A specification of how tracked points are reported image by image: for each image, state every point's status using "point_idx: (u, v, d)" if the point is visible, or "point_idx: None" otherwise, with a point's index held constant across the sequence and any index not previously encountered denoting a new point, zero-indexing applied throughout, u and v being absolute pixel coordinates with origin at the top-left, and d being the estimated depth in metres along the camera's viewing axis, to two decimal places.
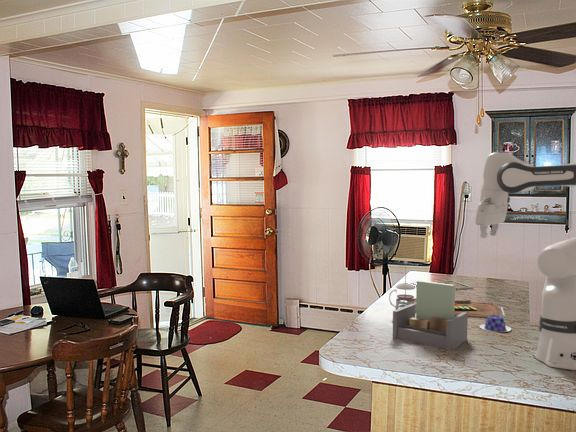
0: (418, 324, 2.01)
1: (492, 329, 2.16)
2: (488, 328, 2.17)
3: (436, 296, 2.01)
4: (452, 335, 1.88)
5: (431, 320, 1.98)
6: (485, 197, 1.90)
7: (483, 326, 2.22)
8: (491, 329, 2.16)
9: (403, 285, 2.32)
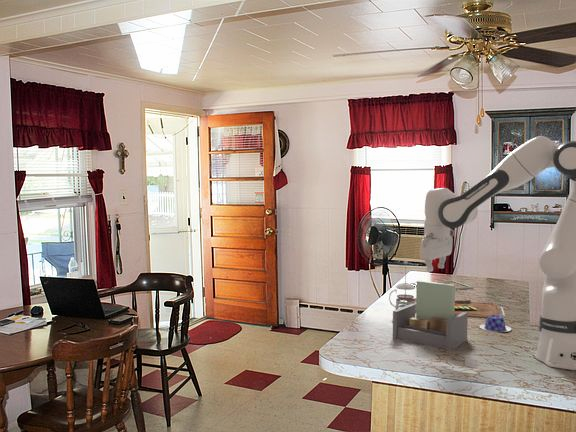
0: (418, 324, 2.01)
1: (492, 329, 2.15)
2: (488, 328, 2.17)
3: (436, 296, 2.01)
4: (452, 335, 1.88)
5: (431, 320, 1.98)
6: (428, 232, 1.98)
7: (483, 326, 2.21)
8: (491, 329, 2.16)
9: (403, 285, 2.32)
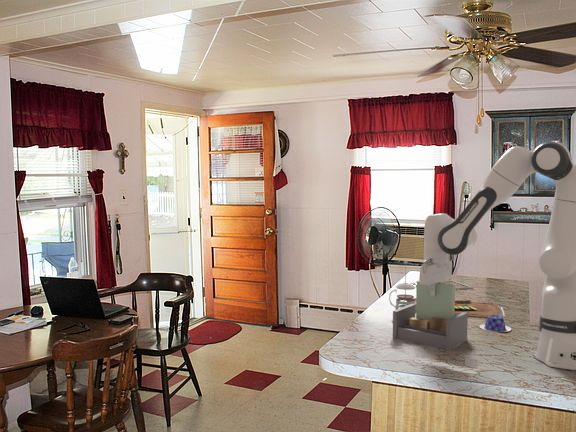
0: (418, 324, 2.01)
1: (493, 329, 2.15)
2: (489, 328, 2.17)
3: (436, 296, 2.01)
4: (452, 335, 1.88)
5: (431, 320, 1.98)
6: (427, 258, 1.99)
7: (483, 326, 2.21)
8: (492, 329, 2.16)
9: (403, 285, 2.32)
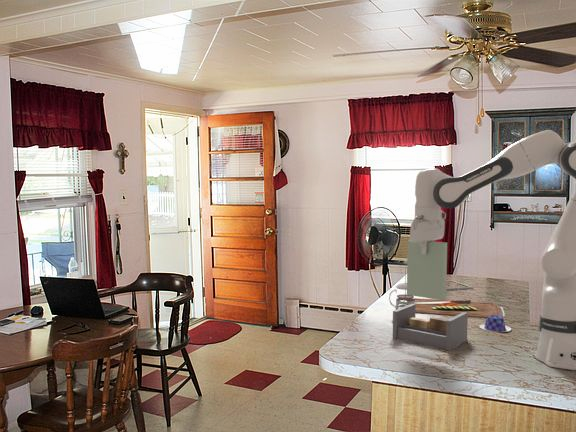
0: (418, 324, 2.01)
1: (493, 329, 2.15)
2: (489, 328, 2.17)
3: (427, 255, 1.94)
4: (452, 335, 1.88)
5: (431, 320, 1.98)
6: (418, 215, 1.92)
7: (482, 326, 2.21)
8: (492, 329, 2.15)
9: (403, 285, 2.32)
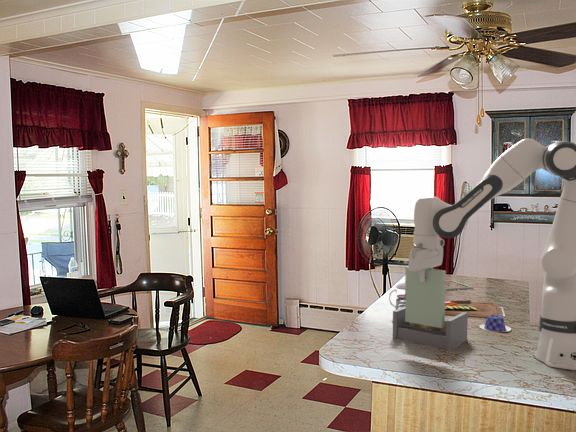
0: (418, 324, 2.01)
1: (494, 329, 2.15)
2: (489, 328, 2.16)
3: (426, 282, 1.94)
4: (452, 335, 1.88)
5: None
6: (417, 242, 1.92)
7: (482, 326, 2.21)
8: (493, 329, 2.15)
9: (403, 285, 2.32)
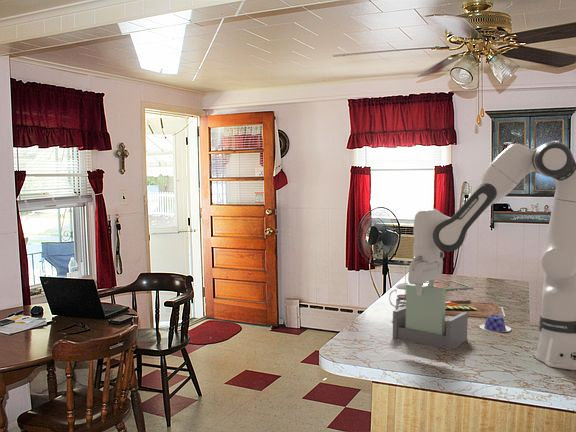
0: None
1: (494, 329, 2.15)
2: (490, 328, 2.16)
3: (426, 300, 1.94)
4: (452, 335, 1.88)
5: None
6: (417, 255, 1.92)
7: (482, 327, 2.21)
8: (493, 329, 2.15)
9: (403, 285, 2.32)
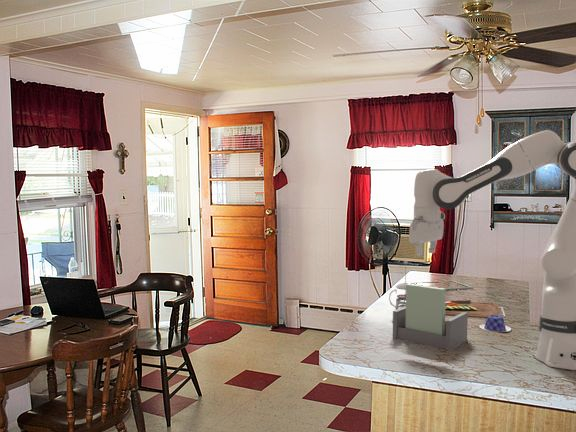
0: None
1: (495, 329, 2.15)
2: (490, 329, 2.16)
3: (426, 300, 1.94)
4: (452, 335, 1.88)
5: None
6: (417, 215, 1.91)
7: (482, 327, 2.21)
8: (494, 329, 2.15)
9: (403, 285, 2.32)
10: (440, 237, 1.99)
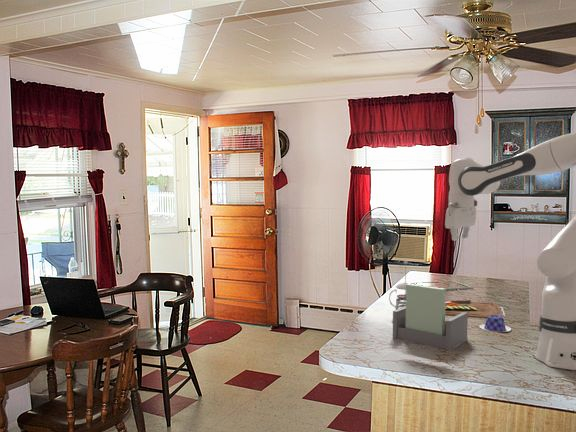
0: None
1: (495, 329, 2.15)
2: (490, 329, 2.16)
3: (426, 300, 1.94)
4: (452, 335, 1.88)
5: None
6: (452, 202, 2.02)
7: (482, 327, 2.20)
8: (494, 329, 2.15)
9: (403, 285, 2.32)
10: (473, 223, 2.10)
